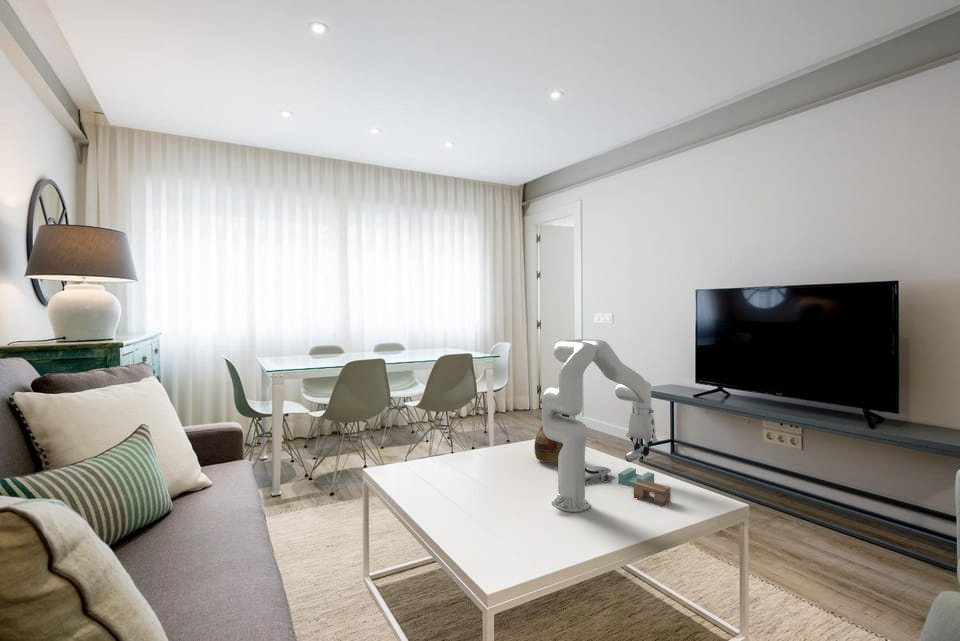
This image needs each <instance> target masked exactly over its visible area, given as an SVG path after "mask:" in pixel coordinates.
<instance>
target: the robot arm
mask: <svg viewBox="0 0 960 641" xmlns="http://www.w3.org/2000/svg"><path fill="white" fill-rule="evenodd" d="M553 355H554V358H555V359H556V360H557V361H558V362H560V363H564V364H563V365H562V367H561V369H560V370H559V373H558V377H557V378H558V383H557V386H555V385H554V386H550V387H548V388H546V389H545V391H544V392H543V394H542V398H541V399H542V404H541V419H542V420H541V422H542V425H543V431H544V434H545V436H546V437H547V438H549V439H551V440H554V441H557V442H560V443H563V447H562V449H561V451H560V453H559V456H558V463H557V464H558V466H557V467H558V473H557V474H558V476H557V479H558V480H557V482H558V483H557V484H558V485H557V486H558V490H557V492H558V493H557V495H556V496H557V497H555V499H554V500H553V501H552V502H551V505H552V507H554V508H555V507H556V508H557V509H559V510H560V511H563V512H569V513H570V512H571V513H580V512H584V511H585V512H586V511H587V510H588V509H589V508H590V502H589V500H588V499H586V485H585V468H586V448H587V447H586V446H587V441H588V436H589V431H588V427H587V425H586V424H585V423H584V422H583V421H581V420H579V419H576V418H572V417H574V416H578V415H580V414H581V413H582V410H583V404H584V403H583V399H584V398H583V375H584V374H585V371H586V370H587V369H588V367H589V366H590V364H591V363H594V364H595V366H596V367H597V368H598V369H599V371H600V372H601V374H603V376H604V377H605V378H606V379H608V380H610V381H612V382H614V383H617V385H616V387H615V388H614V393H615V396H616V397H617V398H618V399H619V400H621V401H626V402H631V412H630V415H629V419H628V420H629V421H628V430H627V433H626V435H625V436H626V437H627V438H628V439H630V441H631V442H632V444H633V451H635V450H637V449H639V448H641V443H639V440H644V446H645V447H644V455H643V457H646V458H647V456H649V454H650V446H651V445H652V444H654V443H657V442H658V441H659V439H658V438H657V435H656V434H657V433H656V432H657V431H656V424H655V422H656V421H655V418H654V415H653V414H655V409H652V384H651V383H650V382H649V381H646V380H645V378H644V377H643V376H642V375H641V374H640V373H638V372H636V370H633V369H632V368H630V367H629V366H628V365H626V364H624V363H623V362H622V361H621V359H620V358H619V356H618V355H617V354H616V352H615V351H614V350H613V348H612V346H611V345H610V344H609V343H608V342H607V341H605V340H602V339H590V338H589V339H588V338H580V339H562V340H559V341H558V342H557V343H556V344H555V346H554V347H553ZM562 414H565V415H569V418H568V417H564V416H562ZM570 416H571V417H570Z"/></svg>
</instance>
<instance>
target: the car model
mask: <svg viewBox="0 0 960 641" xmlns="http://www.w3.org/2000/svg"><path fill="white" fill-rule="evenodd" d="M611 472H612V469H611V468H610V467H606V466H601V465H599V466H598V465H592V466H585V486H588V485H592V483H593V484H599V483H598V482H600V483H606V482H605V481H607V482H608V481H610V480H612V478H613V477H612V476H610V475H609V473H611ZM587 484H588V485H587Z"/></svg>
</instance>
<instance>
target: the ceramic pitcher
mask: <svg viewBox="0 0 960 641" xmlns="http://www.w3.org/2000/svg"><path fill="white" fill-rule="evenodd" d="M538 402H539V403H540V404H541V405H542V398H540V399H539V400H538ZM562 416H564V417H568V418H570V415H565V414H562ZM562 447H563V443H560V442H557V441H554V440H551V439H549V438H547V437H546V436H545V434H544V431H543V424H542V425H541V426H540V427H539V429H538V431H537V433H536V436H535V440H534V455H535V458H536V459H537V460H539V461H540V462H544V463H551V464H558V456H559V453H560V451H561V449H562Z"/></svg>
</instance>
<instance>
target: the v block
mask: <svg viewBox="0 0 960 641" xmlns="http://www.w3.org/2000/svg"><path fill="white" fill-rule="evenodd" d="M617 477H618V478H617V480H618V481H617V482H618V484H620V483H621V484H620V485H623V484H625V486H627V485H629V486H628V487H631V486H632V487H631V488H634V483H635V482H637V481H639V480H645V481H649V482H653V483H655V473H654V472H650V471H647V472H645V473H644V474H639V473H637V469H636V468H634V467H627V468H626V469H624V470H622V471H620V472H618V473H617Z"/></svg>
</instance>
